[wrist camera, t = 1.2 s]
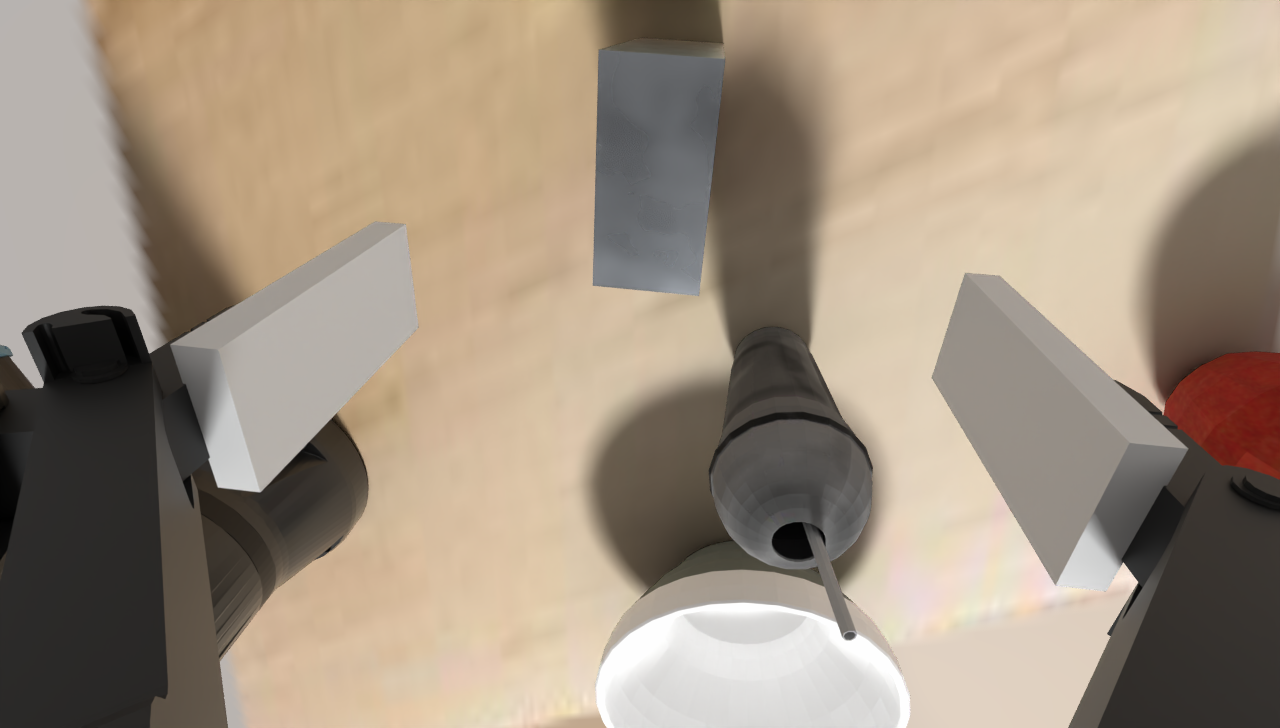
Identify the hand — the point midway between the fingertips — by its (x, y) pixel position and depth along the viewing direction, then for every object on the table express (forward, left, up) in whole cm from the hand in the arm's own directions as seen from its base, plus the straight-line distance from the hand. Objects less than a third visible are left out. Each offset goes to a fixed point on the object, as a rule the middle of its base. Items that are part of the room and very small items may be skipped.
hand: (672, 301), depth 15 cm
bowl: (+7, -32, -21) cm, 39 cm away
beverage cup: (+6, -12, -21) cm, 25 cm away
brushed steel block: (-1, +1, -21) cm, 21 cm away
